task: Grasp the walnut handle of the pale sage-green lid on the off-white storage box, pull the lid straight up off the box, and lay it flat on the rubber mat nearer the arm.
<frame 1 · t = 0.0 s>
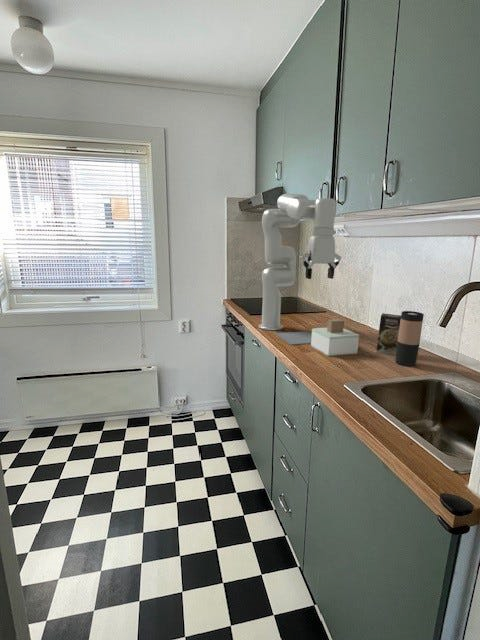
hand: (319, 278, 133), 31 cm above the counter, tool pointing down, fingers open, 9 cm apart
storage box: (333, 349, 148), on the counter
coffee box: (387, 352, 146), on the counter
lid: (334, 333, 146), point 7 cm above the counter, touching storage box
mat: (300, 338, 164), on the counter
travel mug: (405, 363, 133), on the counter
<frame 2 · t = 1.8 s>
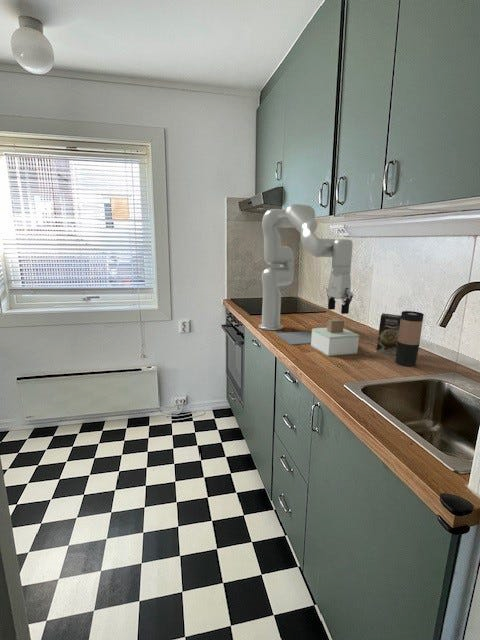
hand: (337, 311, 144), 17 cm above the counter, tool pointing down, fingers open, 9 cm apart
nothing on the counter moved.
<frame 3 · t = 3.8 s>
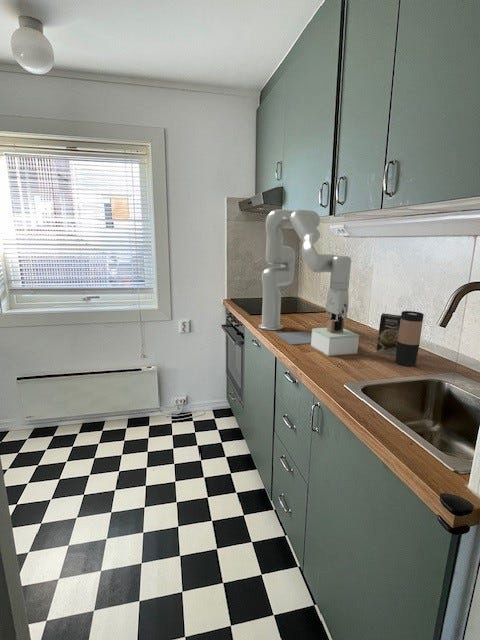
hand: (335, 328, 146), 9 cm above the counter, tool pointing down, fingers closed on lid, 3 cm apart
lid: (334, 333, 146), point 7 cm above the counter, touching gripper, storage box
everything else where it was.
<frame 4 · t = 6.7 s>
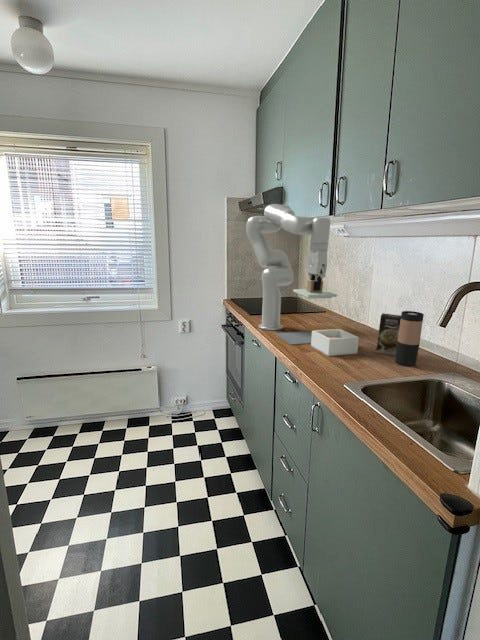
hand: (314, 289, 153), 24 cm above the counter, tool pointing down, fingers closed on lid, 3 cm apart
lid: (314, 294, 153), point 22 cm above the counter, touching gripper
everything else where it was.
when the fingers open (5 cm above the counter, at t = 9.6 s): lid drops 2 cm, resting on mat.
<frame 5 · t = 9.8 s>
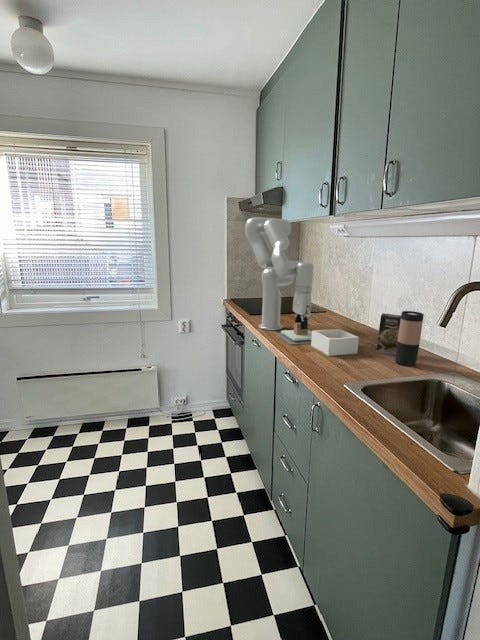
hand: (300, 327, 162), 5 cm above the counter, tool pointing down, fingers open, 4 cm apart
lid: (300, 335, 163), point 1 cm above the counter, touching mat
everything else where it was.
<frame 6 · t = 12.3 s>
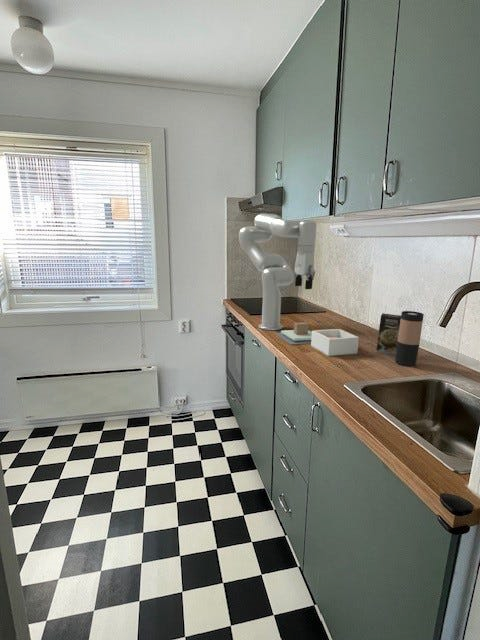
hand: (303, 287, 158), 24 cm above the counter, tool pointing down, fingers open, 9 cm apart
nothing on the counter moved.
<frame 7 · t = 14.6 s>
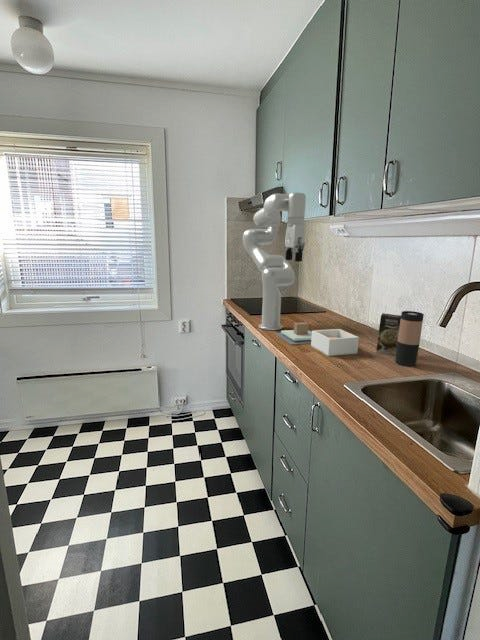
hand: (293, 260, 158), 36 cm above the counter, tool pointing down, fingers open, 9 cm apart
nothing on the counter moved.
at the end: lid inside the target area on the mat (0.1 cm from its centre), point 1.3 cm above the mat's base; lid tilted 0°; the gripper is holding nothing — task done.
